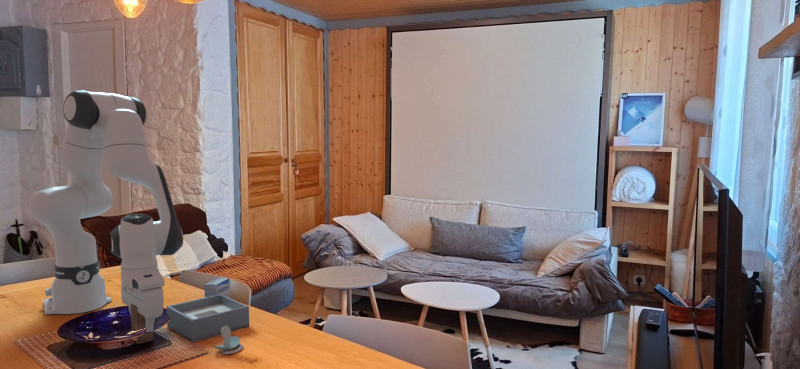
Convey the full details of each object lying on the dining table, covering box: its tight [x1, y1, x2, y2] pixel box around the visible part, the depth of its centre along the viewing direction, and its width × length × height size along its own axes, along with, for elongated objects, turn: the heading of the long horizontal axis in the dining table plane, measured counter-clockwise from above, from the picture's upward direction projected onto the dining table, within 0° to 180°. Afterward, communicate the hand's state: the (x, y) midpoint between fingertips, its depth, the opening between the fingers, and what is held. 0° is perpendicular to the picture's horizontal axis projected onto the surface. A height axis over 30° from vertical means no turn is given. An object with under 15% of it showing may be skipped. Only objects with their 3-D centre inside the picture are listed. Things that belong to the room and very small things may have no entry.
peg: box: [130, 304, 154, 345], centre depth 147 cm, size 4×4×10 cm
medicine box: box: [203, 277, 231, 298], centre depth 174 cm, size 8×4×9 cm, turn 168°
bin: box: [166, 294, 250, 343], centre depth 157 cm, size 17×17×6 cm
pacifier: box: [213, 326, 244, 355], centre depth 141 cm, size 7×6×6 cm
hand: (142, 326), depth 147 cm, fingers open, 8 cm apart
